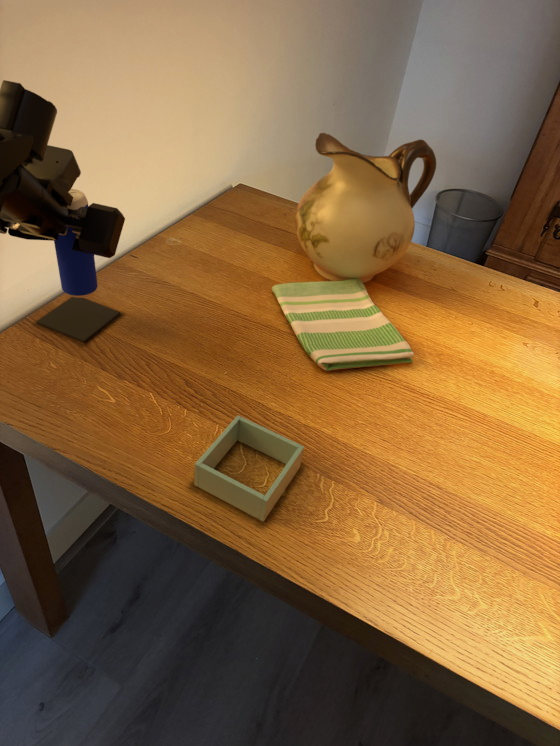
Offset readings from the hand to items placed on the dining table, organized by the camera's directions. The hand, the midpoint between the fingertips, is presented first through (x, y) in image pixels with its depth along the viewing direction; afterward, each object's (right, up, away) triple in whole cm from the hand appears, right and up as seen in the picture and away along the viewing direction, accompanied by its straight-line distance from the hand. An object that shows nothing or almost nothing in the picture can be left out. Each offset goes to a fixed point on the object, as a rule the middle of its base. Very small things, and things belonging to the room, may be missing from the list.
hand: (78, 241), depth 79 cm
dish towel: (+40, -11, +15) cm, 44 cm away
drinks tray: (+25, -32, -12) cm, 43 cm away
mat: (-3, -10, +8) cm, 13 cm away
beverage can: (-1, -7, +4) cm, 8 cm away
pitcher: (+42, +2, +30) cm, 52 cm away
